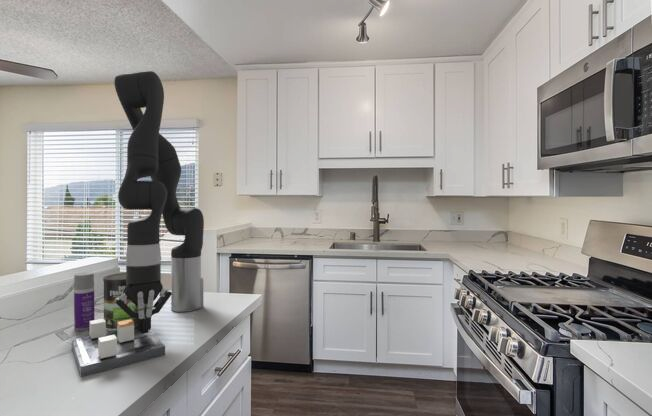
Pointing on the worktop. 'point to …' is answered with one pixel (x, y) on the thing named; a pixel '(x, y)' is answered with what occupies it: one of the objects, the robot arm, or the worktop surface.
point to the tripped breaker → (125, 330)
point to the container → (83, 300)
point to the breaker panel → (126, 352)
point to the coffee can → (112, 311)
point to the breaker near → (107, 346)
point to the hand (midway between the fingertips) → (144, 332)
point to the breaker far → (97, 328)
